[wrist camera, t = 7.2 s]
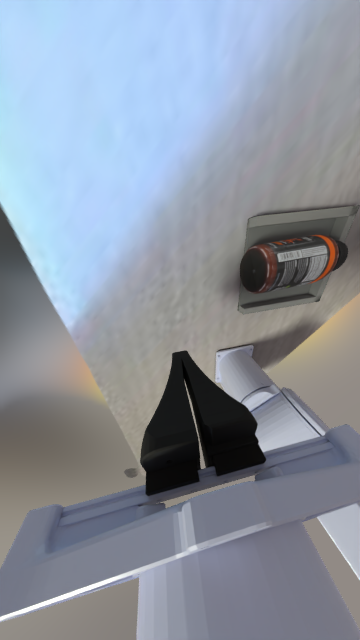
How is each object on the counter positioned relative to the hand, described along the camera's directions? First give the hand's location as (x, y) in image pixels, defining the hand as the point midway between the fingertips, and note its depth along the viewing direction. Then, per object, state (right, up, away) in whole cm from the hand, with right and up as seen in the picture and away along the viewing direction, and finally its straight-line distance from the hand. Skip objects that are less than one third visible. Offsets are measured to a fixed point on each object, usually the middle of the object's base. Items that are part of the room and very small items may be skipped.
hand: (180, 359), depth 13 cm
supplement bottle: (+9, +10, +4) cm, 14 cm away
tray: (+16, +12, +8) cm, 22 cm away
